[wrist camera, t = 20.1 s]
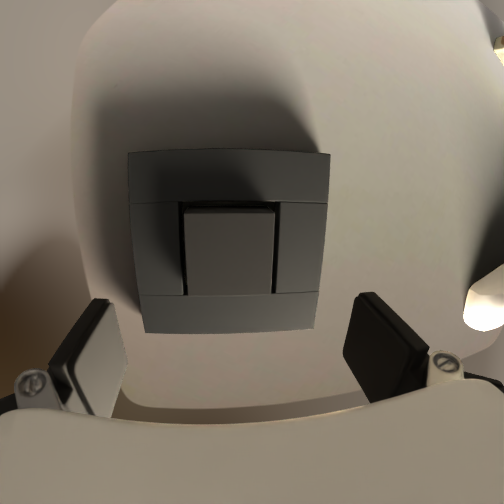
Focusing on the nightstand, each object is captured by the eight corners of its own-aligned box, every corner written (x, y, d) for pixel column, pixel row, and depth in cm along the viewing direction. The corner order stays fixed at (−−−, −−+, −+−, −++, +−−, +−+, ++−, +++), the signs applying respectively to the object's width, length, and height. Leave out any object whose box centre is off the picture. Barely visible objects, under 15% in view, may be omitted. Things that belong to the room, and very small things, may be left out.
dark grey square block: (191, 278, 23) (188, 296, 20) (189, 205, 22) (183, 213, 18) (264, 277, 24) (270, 295, 21) (267, 205, 22) (274, 213, 19)
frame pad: (149, 321, 24) (145, 333, 22) (135, 153, 20) (127, 152, 18) (307, 317, 26) (313, 328, 24) (321, 154, 21) (330, 154, 19)
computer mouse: (506, 291, 30) (530, 307, 24) (459, 325, 30) (485, 348, 24) (510, 256, 28) (538, 270, 22) (463, 288, 28) (494, 309, 22)
